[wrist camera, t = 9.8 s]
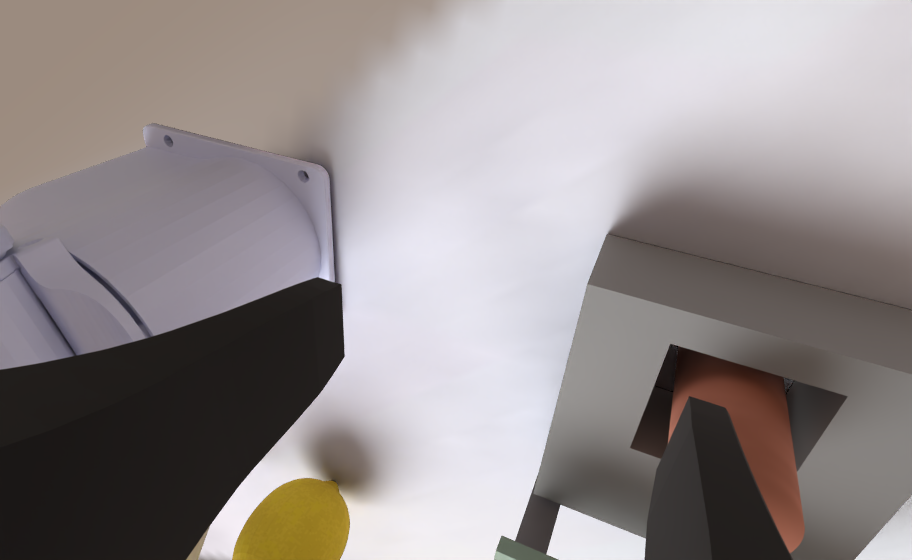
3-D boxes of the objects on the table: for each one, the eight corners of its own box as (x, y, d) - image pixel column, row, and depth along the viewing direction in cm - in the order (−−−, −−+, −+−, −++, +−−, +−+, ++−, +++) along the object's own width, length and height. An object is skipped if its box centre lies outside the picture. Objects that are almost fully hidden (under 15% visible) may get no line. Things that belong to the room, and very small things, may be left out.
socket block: (534, 463, 26) (484, 604, 20) (592, 230, 19) (539, 348, 13) (788, 560, 23) (811, 758, 17) (969, 324, 16) (1104, 529, 10)
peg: (668, 374, 20) (648, 532, 15) (691, 304, 19) (679, 454, 13) (760, 400, 19) (776, 579, 14) (794, 330, 18) (827, 502, 12)
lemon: (301, 435, 32) (199, 553, 26) (381, 481, 31) (296, 615, 25) (293, 484, 36) (201, 600, 29) (365, 527, 35) (287, 656, 28)
